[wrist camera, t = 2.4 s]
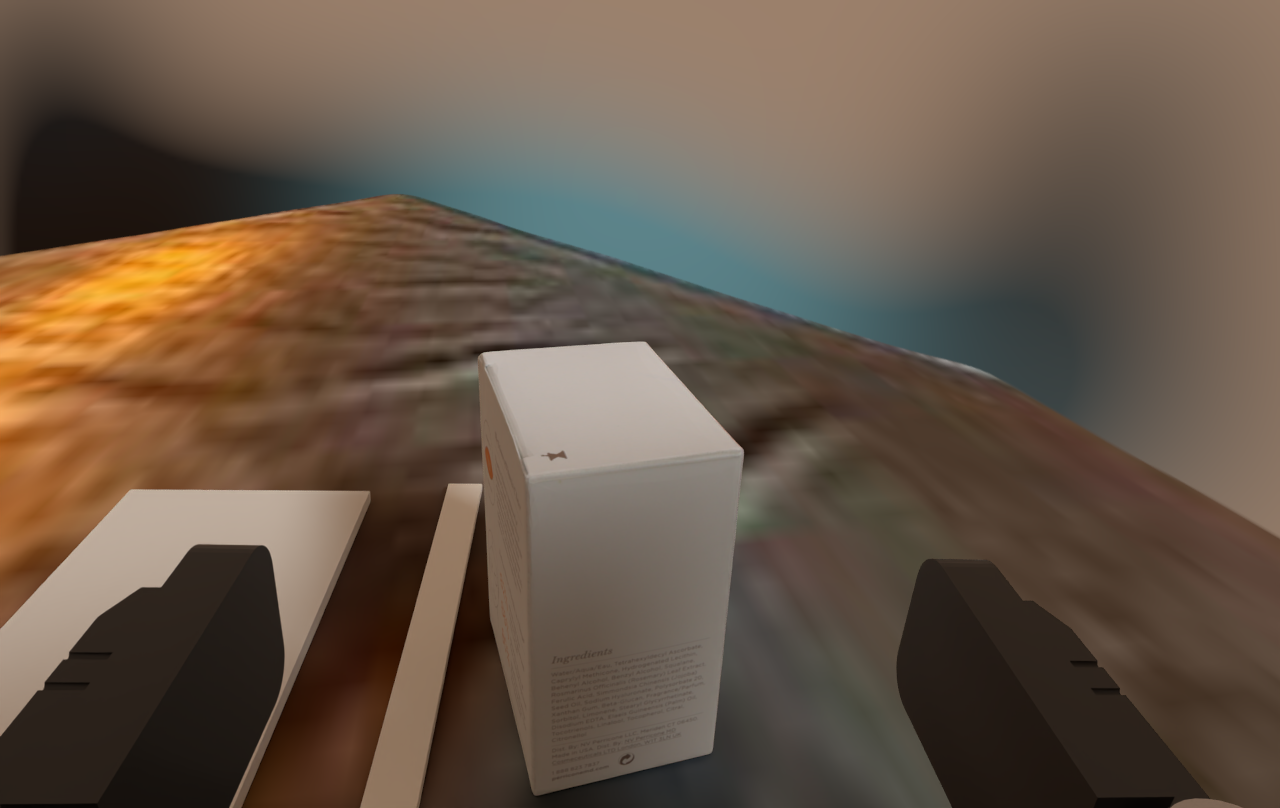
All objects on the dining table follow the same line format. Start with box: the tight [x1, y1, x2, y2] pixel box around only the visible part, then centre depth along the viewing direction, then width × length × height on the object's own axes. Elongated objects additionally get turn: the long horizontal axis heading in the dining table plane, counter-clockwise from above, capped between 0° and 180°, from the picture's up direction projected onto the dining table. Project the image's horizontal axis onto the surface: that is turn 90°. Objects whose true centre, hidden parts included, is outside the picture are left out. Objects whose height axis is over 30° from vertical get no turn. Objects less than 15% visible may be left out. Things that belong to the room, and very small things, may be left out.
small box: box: [478, 342, 744, 796], centre depth 25 cm, size 8×6×10 cm
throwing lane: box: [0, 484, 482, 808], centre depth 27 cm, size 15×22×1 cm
